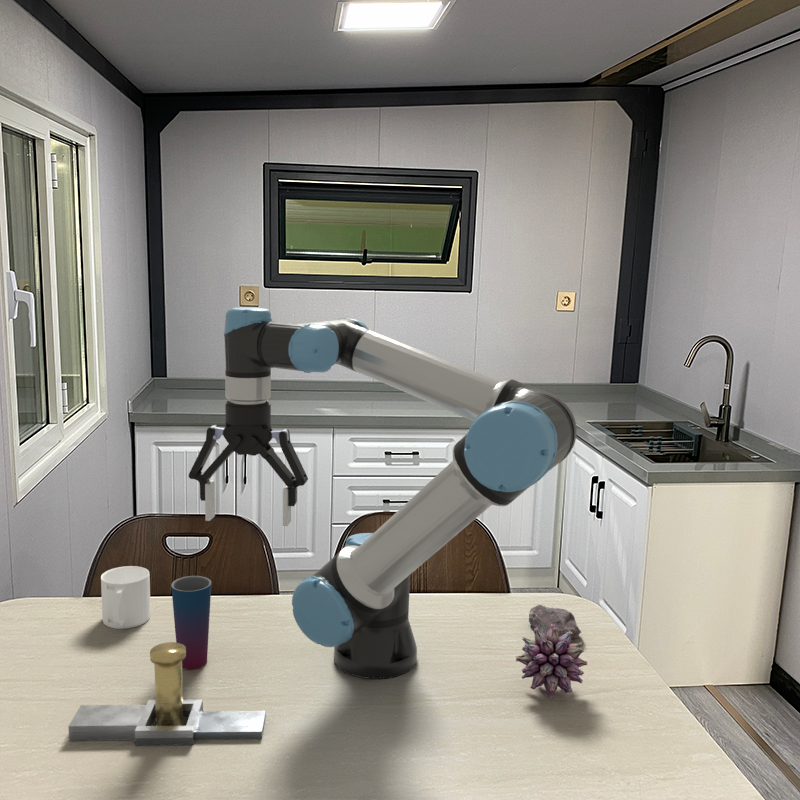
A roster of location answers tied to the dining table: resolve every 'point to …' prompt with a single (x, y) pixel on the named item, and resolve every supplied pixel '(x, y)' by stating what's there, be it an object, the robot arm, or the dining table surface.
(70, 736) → the grey metal base plate
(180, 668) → the pin
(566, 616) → the rock
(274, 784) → the dining table surface
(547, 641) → the flower
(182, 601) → the cup
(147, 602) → the mug
